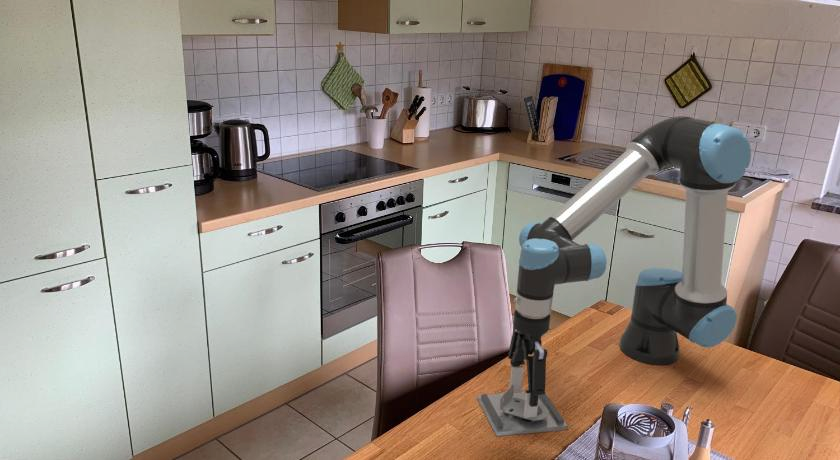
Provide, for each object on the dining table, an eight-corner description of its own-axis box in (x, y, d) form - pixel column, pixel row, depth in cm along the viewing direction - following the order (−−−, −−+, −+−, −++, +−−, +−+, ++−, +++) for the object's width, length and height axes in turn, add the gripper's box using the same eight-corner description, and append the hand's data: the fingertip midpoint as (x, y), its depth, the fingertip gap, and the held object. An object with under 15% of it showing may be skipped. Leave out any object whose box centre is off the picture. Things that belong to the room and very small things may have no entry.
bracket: (541, 426, 138) (543, 412, 137) (498, 410, 143) (500, 397, 142) (552, 411, 143) (554, 398, 142) (511, 397, 148) (512, 384, 147)
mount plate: (542, 393, 153) (543, 387, 152) (567, 429, 140) (568, 422, 139) (477, 398, 149) (478, 392, 149) (496, 436, 136) (497, 429, 136)
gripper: (499, 291, 146) (491, 379, 153) (534, 336, 126) (523, 435, 133) (530, 290, 147) (521, 377, 155) (570, 334, 128) (557, 432, 135)
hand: (522, 403), depth 144 cm, fingers closed on bracket, 9 cm apart
